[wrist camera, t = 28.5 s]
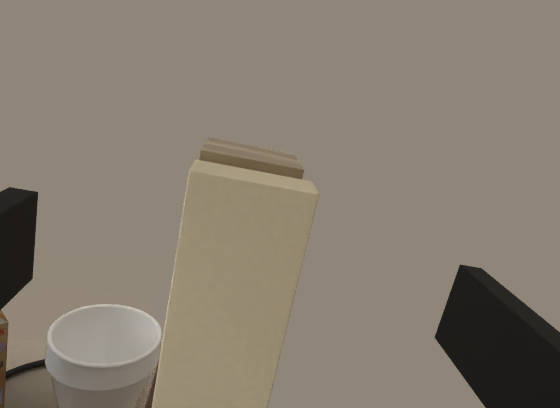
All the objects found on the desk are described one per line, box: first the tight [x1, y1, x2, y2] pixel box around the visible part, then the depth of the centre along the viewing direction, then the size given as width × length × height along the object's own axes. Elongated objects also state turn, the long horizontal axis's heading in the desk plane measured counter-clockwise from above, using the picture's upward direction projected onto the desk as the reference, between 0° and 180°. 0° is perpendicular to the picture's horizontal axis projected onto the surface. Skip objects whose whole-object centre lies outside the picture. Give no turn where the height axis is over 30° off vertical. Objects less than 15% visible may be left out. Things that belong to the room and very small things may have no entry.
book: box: [152, 160, 319, 408], centre depth 23 cm, size 2×6×14 cm, turn 94°
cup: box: [45, 304, 162, 408], centre depth 52 cm, size 12×12×14 cm
